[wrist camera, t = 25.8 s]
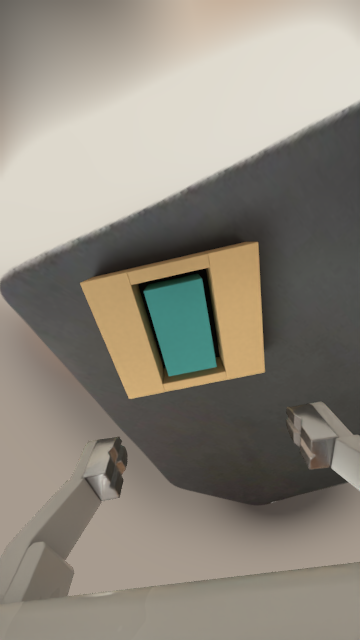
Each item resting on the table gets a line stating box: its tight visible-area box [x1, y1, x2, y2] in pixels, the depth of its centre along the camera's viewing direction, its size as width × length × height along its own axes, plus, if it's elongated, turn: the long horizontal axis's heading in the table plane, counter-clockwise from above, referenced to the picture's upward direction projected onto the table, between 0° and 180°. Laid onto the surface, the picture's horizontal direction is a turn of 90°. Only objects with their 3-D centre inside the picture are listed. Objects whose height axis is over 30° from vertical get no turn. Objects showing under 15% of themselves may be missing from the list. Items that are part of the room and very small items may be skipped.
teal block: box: [144, 273, 217, 376], centre depth 20 cm, size 6×10×3 cm, turn 12°
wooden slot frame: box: [80, 242, 265, 399], centre depth 20 cm, size 16×14×3 cm
